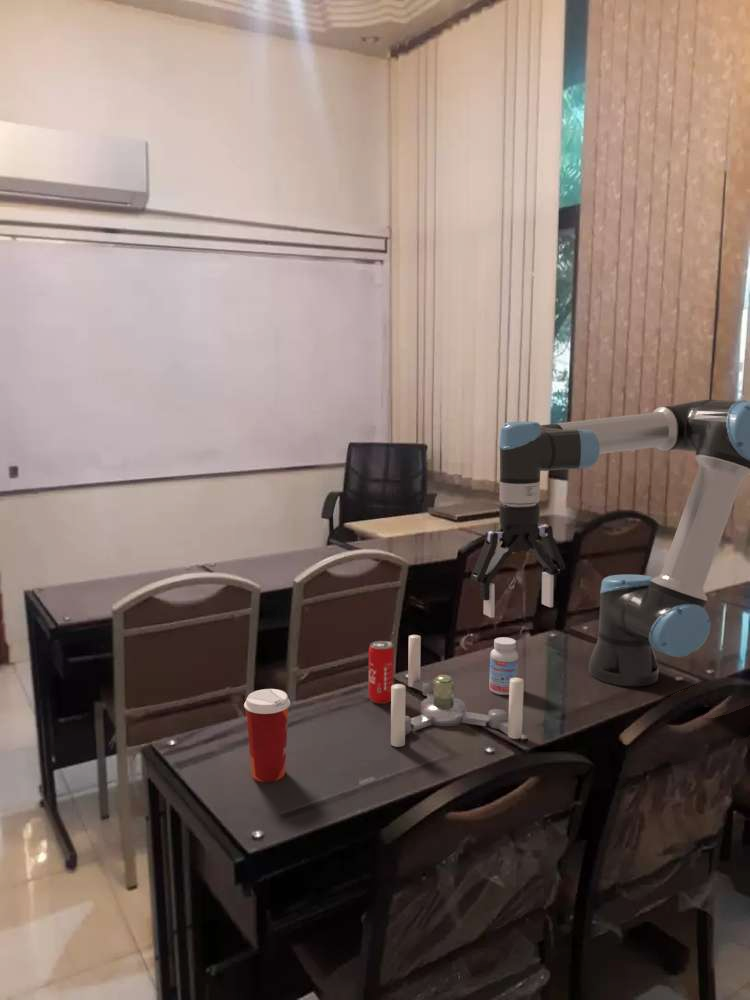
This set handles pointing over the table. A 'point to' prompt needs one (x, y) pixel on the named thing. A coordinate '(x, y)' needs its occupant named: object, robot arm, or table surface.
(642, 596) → the robot arm
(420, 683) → the white lever handle
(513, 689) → the knob
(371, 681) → the beverage can
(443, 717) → the levelling base
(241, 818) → the table surface
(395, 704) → the knob
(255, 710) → the paper cup
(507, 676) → the pill bottle
